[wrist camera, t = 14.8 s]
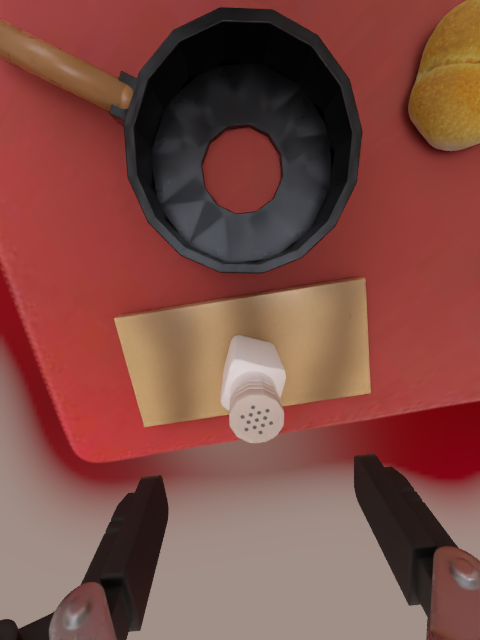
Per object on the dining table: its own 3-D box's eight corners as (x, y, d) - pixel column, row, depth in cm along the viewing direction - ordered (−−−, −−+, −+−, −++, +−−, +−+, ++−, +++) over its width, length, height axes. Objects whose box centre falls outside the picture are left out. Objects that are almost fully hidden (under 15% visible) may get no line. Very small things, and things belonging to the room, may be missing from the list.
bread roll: (391, 145, 22) (424, 121, 18) (428, 10, 20) (475, -50, 16) (486, 164, 22) (539, 146, 19) (533, 34, 20) (603, -17, 16)
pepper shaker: (222, 372, 25) (214, 442, 16) (233, 331, 24) (231, 380, 15) (264, 381, 25) (280, 456, 16) (276, 342, 24) (300, 397, 15)
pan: (373, 116, 21) (405, 84, 17) (286, 297, 25) (295, 305, 21) (30, -71, 18) (-29, -163, 14) (-16, 164, 22) (-74, 143, 18)
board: (148, 418, 28) (144, 427, 26) (120, 314, 25) (113, 318, 24) (363, 385, 27) (371, 393, 26) (358, 276, 24) (365, 278, 23)
